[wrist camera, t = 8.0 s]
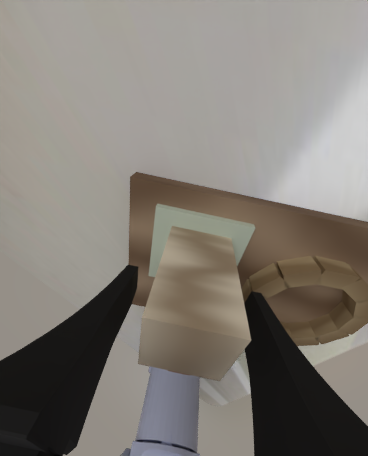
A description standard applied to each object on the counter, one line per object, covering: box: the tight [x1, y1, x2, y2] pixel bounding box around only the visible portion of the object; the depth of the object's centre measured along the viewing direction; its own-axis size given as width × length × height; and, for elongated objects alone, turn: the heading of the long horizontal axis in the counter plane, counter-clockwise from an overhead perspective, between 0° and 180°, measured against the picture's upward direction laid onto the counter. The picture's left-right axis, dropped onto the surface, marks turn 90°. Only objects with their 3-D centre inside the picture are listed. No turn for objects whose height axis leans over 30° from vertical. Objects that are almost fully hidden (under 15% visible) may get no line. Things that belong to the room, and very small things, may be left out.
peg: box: [138, 226, 251, 381], centre depth 11 cm, size 4×4×7 cm
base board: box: [129, 172, 368, 346], centre depth 16 cm, size 14×21×3 cm, turn 80°
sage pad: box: [149, 204, 255, 277], centre depth 14 cm, size 7×7×1 cm
